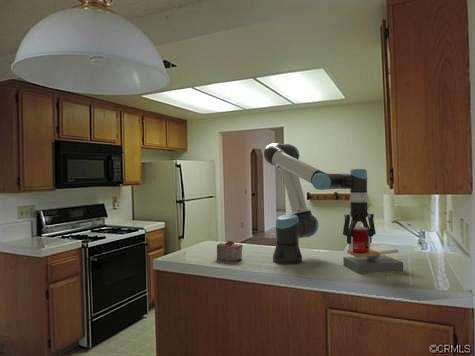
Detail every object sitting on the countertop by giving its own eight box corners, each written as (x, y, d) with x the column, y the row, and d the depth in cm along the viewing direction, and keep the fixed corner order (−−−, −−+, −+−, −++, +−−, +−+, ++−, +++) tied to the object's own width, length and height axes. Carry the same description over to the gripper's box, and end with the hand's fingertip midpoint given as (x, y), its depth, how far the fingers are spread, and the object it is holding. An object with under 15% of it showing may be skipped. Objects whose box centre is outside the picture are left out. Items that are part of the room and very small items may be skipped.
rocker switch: (358, 259, 147) (358, 254, 147) (347, 254, 157) (347, 250, 157) (398, 254, 150) (398, 249, 150) (385, 249, 160) (385, 244, 160)
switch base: (358, 273, 145) (358, 260, 145) (343, 265, 159) (343, 253, 159) (403, 271, 149) (403, 257, 149) (384, 263, 162) (384, 251, 162)
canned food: (369, 252, 148) (369, 228, 148) (351, 252, 150) (351, 228, 150) (367, 249, 155) (366, 226, 155) (349, 248, 157) (349, 226, 157)
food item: (244, 259, 174) (244, 240, 174) (239, 262, 166) (239, 243, 166) (221, 257, 178) (220, 239, 179) (214, 260, 171) (214, 241, 171)
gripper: (342, 202, 148) (342, 252, 147) (383, 201, 151) (384, 251, 150) (334, 201, 155) (335, 249, 155) (374, 200, 158) (375, 247, 158)
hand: (359, 250), depth 153 cm, fingers closed on canned food, 8 cm apart
